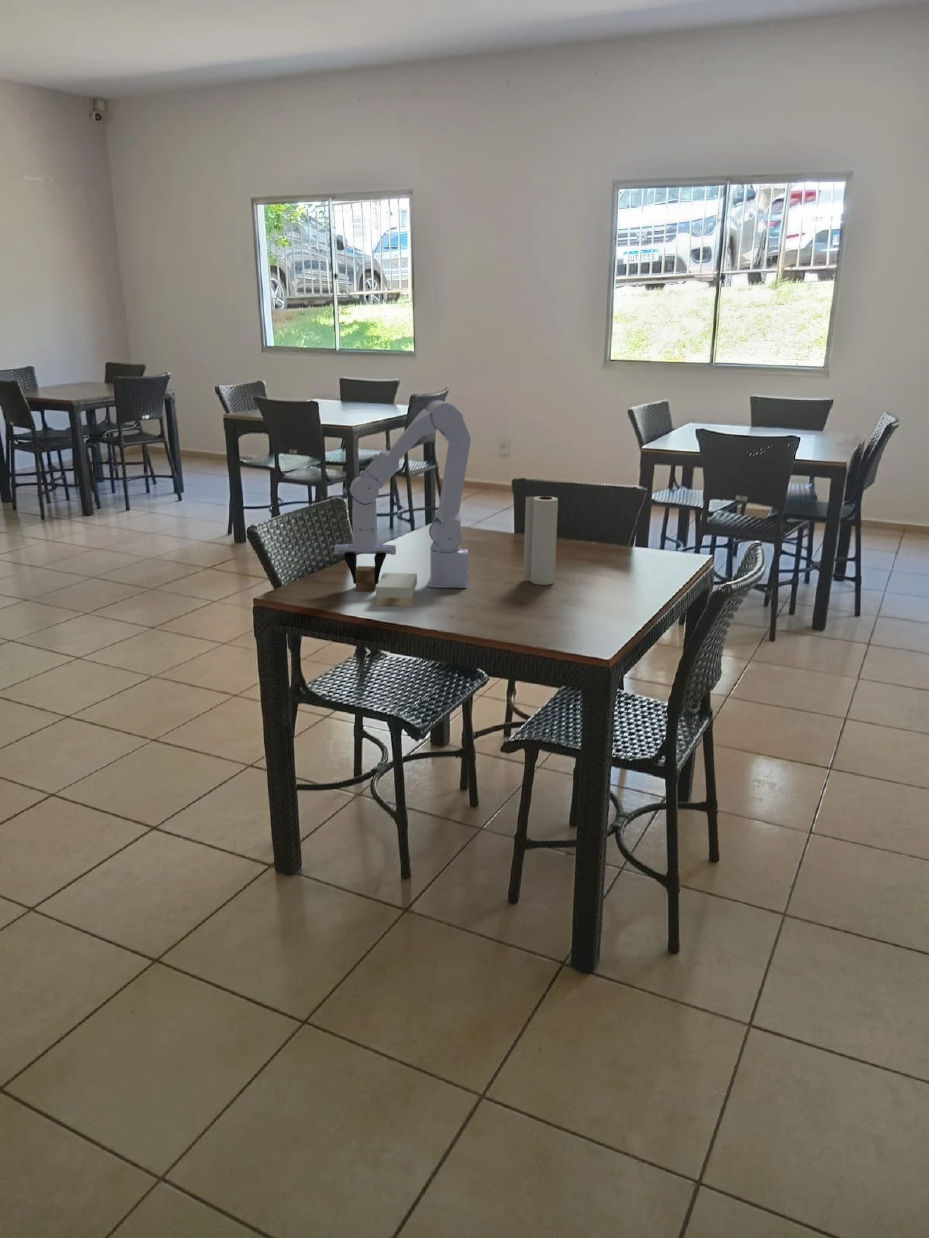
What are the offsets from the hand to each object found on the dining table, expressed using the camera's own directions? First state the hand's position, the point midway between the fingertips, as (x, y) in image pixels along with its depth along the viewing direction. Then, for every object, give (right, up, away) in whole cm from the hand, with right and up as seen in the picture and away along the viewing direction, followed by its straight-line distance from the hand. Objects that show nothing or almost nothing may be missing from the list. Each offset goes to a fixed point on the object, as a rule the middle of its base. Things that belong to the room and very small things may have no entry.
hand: (366, 582), depth 223 cm
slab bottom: (+8, -4, -7) cm, 11 cm away
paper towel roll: (+43, 0, +8) cm, 44 cm away
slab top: (+8, -2, -8) cm, 11 cm away
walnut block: (0, -1, 0) cm, 1 cm away
